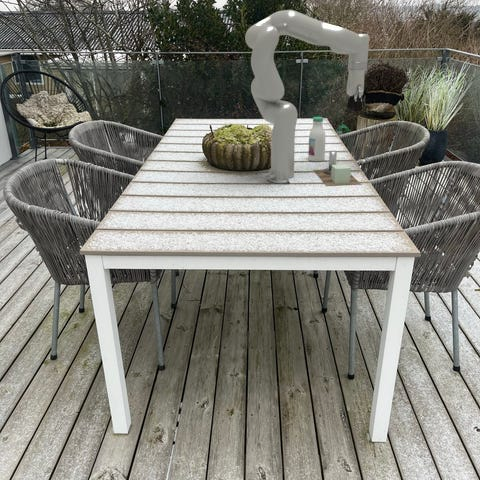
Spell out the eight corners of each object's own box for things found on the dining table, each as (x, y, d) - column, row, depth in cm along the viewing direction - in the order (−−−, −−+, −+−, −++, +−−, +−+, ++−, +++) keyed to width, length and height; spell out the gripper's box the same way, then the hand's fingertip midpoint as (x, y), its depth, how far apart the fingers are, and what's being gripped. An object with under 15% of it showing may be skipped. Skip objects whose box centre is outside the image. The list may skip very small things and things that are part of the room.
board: (361, 188, 182) (363, 161, 178) (326, 189, 182) (327, 163, 177) (344, 171, 204) (345, 147, 200) (312, 173, 204) (313, 149, 199)
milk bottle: (324, 157, 228) (325, 115, 220) (325, 161, 221) (327, 118, 213) (308, 157, 229) (309, 116, 221) (308, 161, 222) (309, 118, 214)
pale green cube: (349, 183, 184) (350, 168, 182) (334, 183, 184) (335, 168, 181) (345, 178, 189) (346, 164, 187) (330, 179, 189) (331, 164, 187)
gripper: (343, 65, 200) (340, 107, 207) (353, 68, 184) (350, 112, 191) (360, 65, 200) (357, 106, 207) (372, 67, 184) (368, 112, 191)
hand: (354, 109), depth 199 cm, fingers open, 9 cm apart
